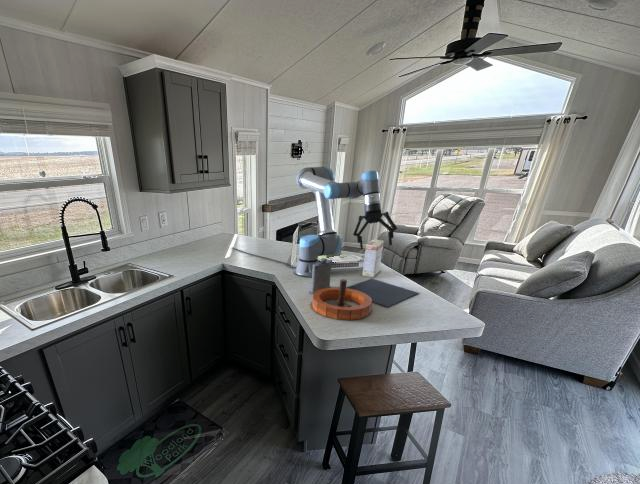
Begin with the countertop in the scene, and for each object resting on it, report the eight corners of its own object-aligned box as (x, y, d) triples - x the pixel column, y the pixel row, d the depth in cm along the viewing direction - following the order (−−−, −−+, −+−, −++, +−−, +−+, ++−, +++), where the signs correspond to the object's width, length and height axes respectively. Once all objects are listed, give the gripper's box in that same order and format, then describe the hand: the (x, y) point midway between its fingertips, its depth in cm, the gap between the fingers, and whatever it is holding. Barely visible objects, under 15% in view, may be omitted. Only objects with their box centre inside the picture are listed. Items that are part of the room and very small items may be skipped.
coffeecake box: (368, 268, 211) (372, 239, 203) (380, 270, 207) (384, 240, 199) (361, 275, 200) (365, 244, 192) (373, 277, 196) (378, 245, 188)
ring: (301, 305, 163) (301, 296, 161) (337, 292, 177) (338, 283, 175) (345, 325, 143) (346, 315, 141) (381, 309, 156) (383, 299, 154)
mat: (340, 290, 179) (340, 289, 179) (371, 279, 193) (372, 278, 193) (387, 307, 158) (387, 306, 158) (418, 293, 172) (418, 292, 172)
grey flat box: (331, 287, 183) (334, 256, 176) (315, 294, 175) (317, 262, 168) (326, 286, 186) (329, 255, 178) (309, 292, 178) (311, 260, 170)
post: (330, 306, 161) (332, 279, 155) (339, 302, 164) (342, 276, 159) (341, 311, 155) (344, 284, 150) (351, 307, 159) (354, 280, 153)
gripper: (346, 207, 160) (350, 250, 162) (401, 198, 154) (405, 243, 156) (345, 209, 167) (349, 250, 169) (397, 201, 162) (400, 243, 164)
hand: (375, 247), depth 163 cm, fingers open, 13 cm apart
